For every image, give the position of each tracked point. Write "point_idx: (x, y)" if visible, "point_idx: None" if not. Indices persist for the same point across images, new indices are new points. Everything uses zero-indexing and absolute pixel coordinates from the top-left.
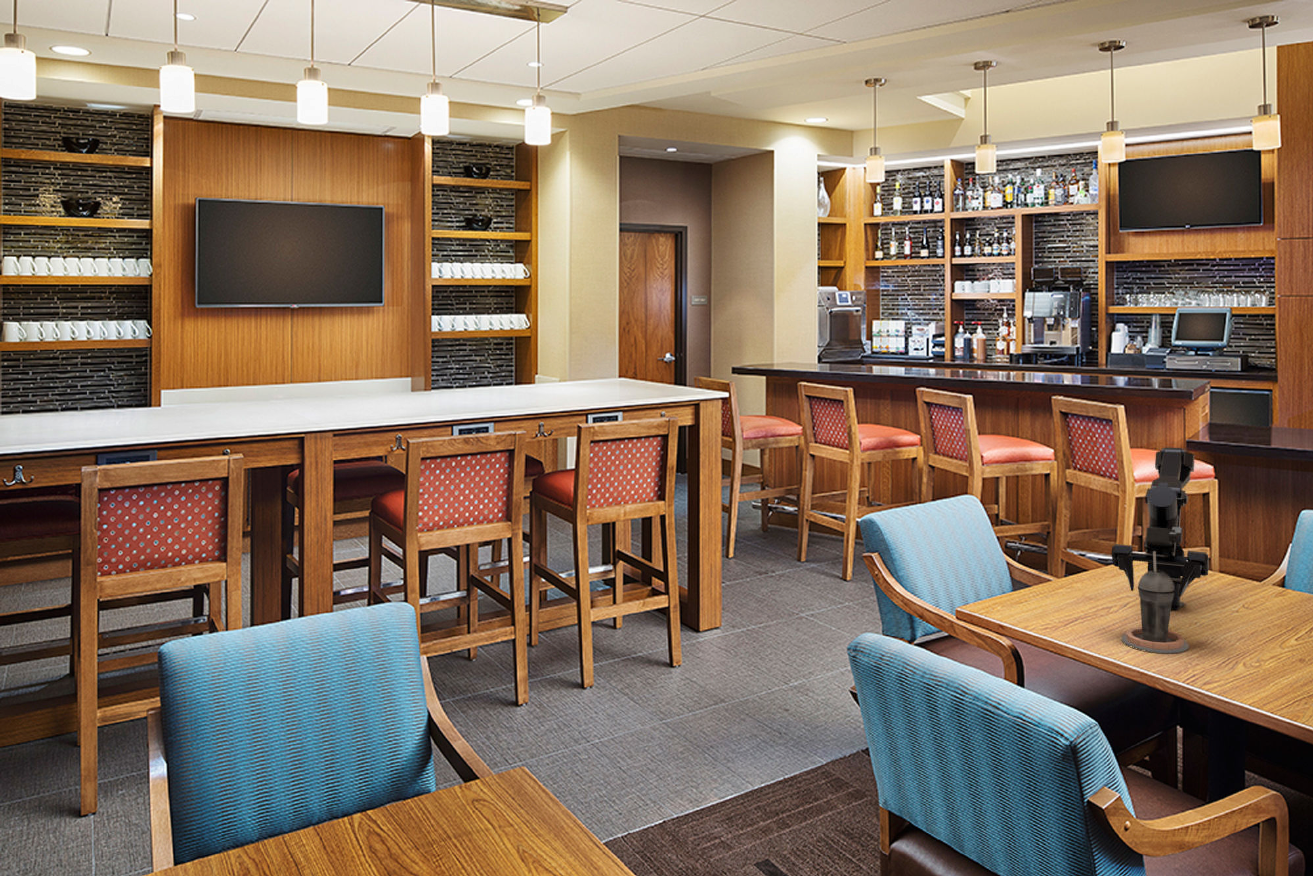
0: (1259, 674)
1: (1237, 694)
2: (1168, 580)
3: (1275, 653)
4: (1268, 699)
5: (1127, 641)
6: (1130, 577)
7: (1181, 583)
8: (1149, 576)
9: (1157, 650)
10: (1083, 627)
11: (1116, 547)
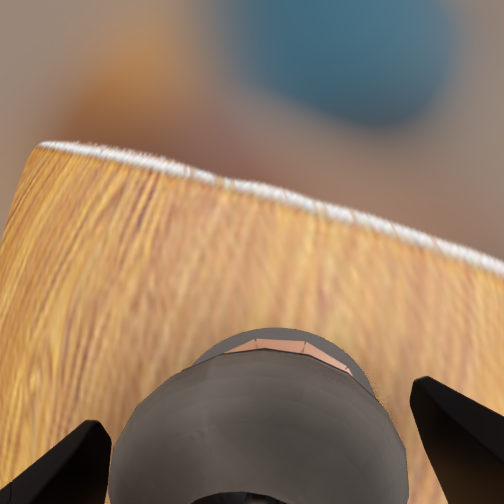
0: (31, 310)
1: (77, 179)
2: (117, 447)
3: (17, 472)
4: (42, 191)
5: (346, 365)
6: (485, 421)
7: (50, 468)
8: (310, 414)
9: (241, 334)
10: None
11: None
